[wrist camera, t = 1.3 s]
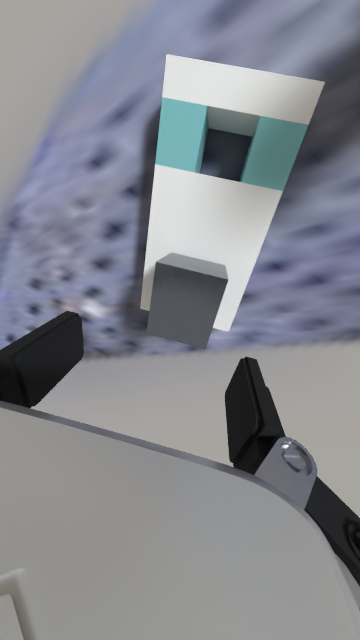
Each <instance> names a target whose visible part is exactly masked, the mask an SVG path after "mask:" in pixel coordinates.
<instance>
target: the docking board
mask: <svg viewBox="0 0 360 640" xmlns="http://www.w3.org/2000/svg"><path fill="white" fill-rule="evenodd" d="M324 84H325V82H322V81H317V80H311V79H305V78H300V77H294V76H288V75H282V74H277V73H271V72H265V71H259V70H254V69H248V68H242V67H237V66H231V65H225V64H219V63H214V62H208V61H202V60H197V59H191V58H185V57H179V56H174V55H168V54H167V57H166V66H165V76H164V85H163V95H162V104H161V114H160V124H159V133H158V143H157V152H156V162H155V171H154V181H153V190H152V200H151V209H150V219H149V228H148V238H147V248H146V257H145V267H144V276H143V286H142V295H141V305H140V309H143V310H147V311H149V309H150V302H151V294H152V287H153V279H154V272H155V264H156V261H158V260H160V259H161V258H163V257H165V256H166V255H168V254H170V253H171V252H172V253H176V254H180V255H184V256H189V257H193V258H197V259H201V260H205V261H209V262H214V263H218V264H222V265H225V266H226V271H227V275H228V279H229V280H228V283H227V286H226V289H225V292H224V295H223V298H222V301H221V304H220V307H219V310H218V313H217V316H216V319H215V322H214V325H213V328H216V329H220V330H224V331H227V332H229V329H230V327H231V324H232V322H233V319H234V316H235V314H236V311H237V309H238V306H239V304H240V301H241V298H242V296H243V293H244V291H245V288H246V285H247V283H248V280H249V278H250V275H251V272H252V270H253V267H254V265H255V262H256V260H257V257H258V254H259V252H260V249H261V247H262V244H263V241H264V239H265V236H266V234H267V231H268V228H269V226H270V223H271V221H272V218H273V216H274V213H275V210H276V208H277V205H278V203H279V200H280V197H281V195H282V192H283V190H284V187H285V184H286V182H287V179H288V177H289V174H290V172H291V169H292V166H293V164H294V161H295V159H296V156H297V153H298V151H299V148H300V146H301V143H302V141H303V138H304V135H305V133H306V130H307V128H308V125H309V122H310V120H311V117H312V115H313V112H314V109H315V107H316V104H317V102H318V99H319V97H320V94H321V91H322V89H323V86H324ZM209 128H210V129H215V130H220V131H225V132H230V133H235V134H241V135H246V136H251V137H252V139H251V143H250V146H249V150H248V153H247V157H246V160H245V164H244V167H243V171H242V174H241V177H240V181H239V182H237V181H232V180H228V179H223V178H218V177H214V176H209V175H204V174H200V170H201V165H202V160H203V155H204V150H205V145H206V140H207V135H208V130H209Z"/></svg>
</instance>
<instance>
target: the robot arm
mask: <svg viewBox="0 0 360 640" xmlns="http://www.w3.org/2000/svg"><path fill="white" fill-rule="evenodd" d="M83 354H84V350H83V334H82V319H81V317H79V314H77V313H74V312H70V311H66V312H64V313H62V314H61V315H59V316H57V317H56V318H54V319H52V320H51V321H49V322H47V323H45V324H44V325H42V326H40V327H39V328H37V329H35V330H34V331H32V332H30V333H28V334H27V335H25V336H23V337H22V338H20V339H18V340H17V341H15V342H13V343H11V344H10V345H8V346H6V347H5V348H3V349H1V350H0V640H360V518H359V517H358V516H357V515H356V514H355V513H354V512H353V511H352V510H351V509H350V508H349V507H348V506H347V505H346V504H345V503H344V502H343V501H342V500H340V498H339V497H338V496H337V495H336V494H335V493H334V492H333V491H332V490H331V489H330V488H329V487H327V486H326V485H325V484H324V483H323V482H322V481H321V480H320V479H319V478H318V477H317V467H316V463H315V462H314V459H313V457H312V456H311V455H310V453H309V452H308V451H307V450H306V449H305V448H304V447H303V446H302V445H301V444H300V443H298V442H297V441H295V440H293V439H291V438H288V437H286V436H285V433H284V430H283V428H282V425H281V422H280V419H279V416H278V413H277V410H276V408H275V405H274V402H273V399H272V397H271V393H270V391H269V389H268V388H267V387H266V386H265V383H264V380H263V377H262V374H261V371H260V368H259V365H258V362H257V360H256V359H253V358H249V357H245V358H244V359H242V358H241V360H240V361H239V364H238V366H237V368H236V370H235V372H234V374H233V377H232V379H231V381H230V383H229V386H228V388H227V390H226V392H225V406H226V418H227V433H228V446H229V458H230V462H232V463H233V466H234V467H230V466H228V465H225V464H222V463H218V462H215V461H212V460H209V459H205V458H202V457H199V456H196V455H192V454H189V453H186V452H182V451H179V450H175V449H172V448H168V447H164V446H161V445H158V444H154V443H151V442H147V441H144V440H141V439H137V438H133V437H130V436H126V435H123V434H119V433H116V432H112V431H109V430H105V429H102V428H98V427H95V426H91V425H88V424H84V423H80V422H77V421H73V420H70V419H66V418H62V417H59V416H55V415H52V414H48V413H44V412H41V411H37V410H33V409H30V408H31V407H32V406H35V405H37V404H38V403H39V402H40V401H41V400H42V399H43V398H44V397H45V396H46V394H48V392H50V390H52V389H53V387H55V385H56V384H57V383H58V382H59V381H60V380H61V379H62V378H63V377H64V376H65V375H66V374H67V373H68V372H69V371H70V370H71V369H72V368H73V367H74V366H75V365H76V364H77V363H78V362H79V361H80V360H81V359H82V357H83Z"/></svg>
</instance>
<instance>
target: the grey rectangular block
mask: <svg viewBox="0 0 360 640" xmlns="http://www.w3.org/2000/svg"><path fill="white" fill-rule="evenodd" d="M228 280H229V279H228V275H227V271H226V266H225V265H222V264H218V263H214V262H209V261H205V260H201V259H197V258H193V257H189V256H184V255H180V254H176V253H172V252H171V253H170V254H168V255H166V256H165V257H163V258H161V259H160V260H158V261H156V264H155V272H154V279H153V287H152V294H151V302H150V309H149V317H148V325H147V332H146V333H148V334H151V335H155V336H159V337H163V338H166V339H170V340H174V341H178V342H181V343H185V344H189V345H192V346H196V347H200V348H204V349H206V346H207V343H208V340H209V337H210V334H211V331H212V328H213V325H214V322H215V319H216V316H217V313H218V310H219V307H220V304H221V301H222V298H223V295H224V292H225V289H226V286H227V283H228Z"/></svg>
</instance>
